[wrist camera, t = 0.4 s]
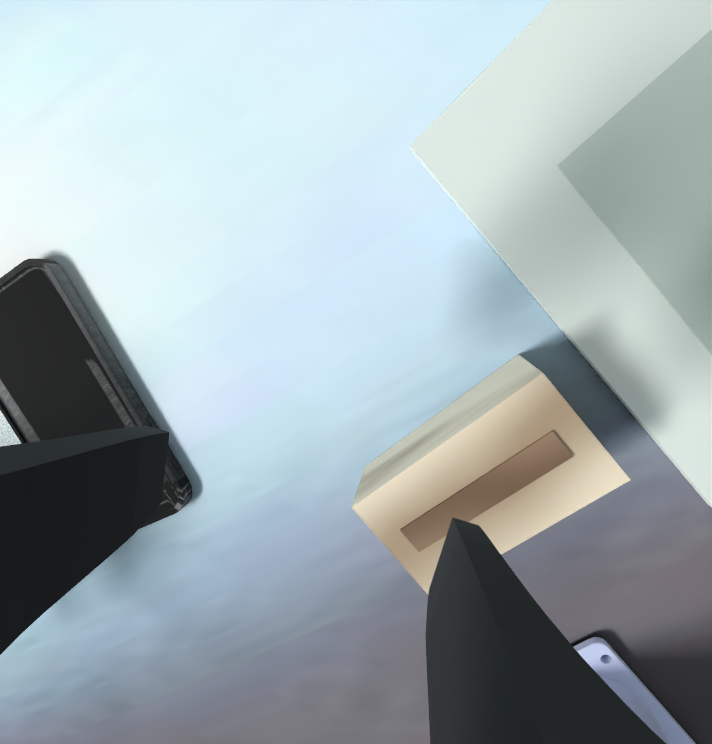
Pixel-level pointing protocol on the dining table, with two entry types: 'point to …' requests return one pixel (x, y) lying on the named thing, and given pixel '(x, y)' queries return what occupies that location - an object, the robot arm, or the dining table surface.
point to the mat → (603, 196)
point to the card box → (485, 470)
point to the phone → (66, 370)
